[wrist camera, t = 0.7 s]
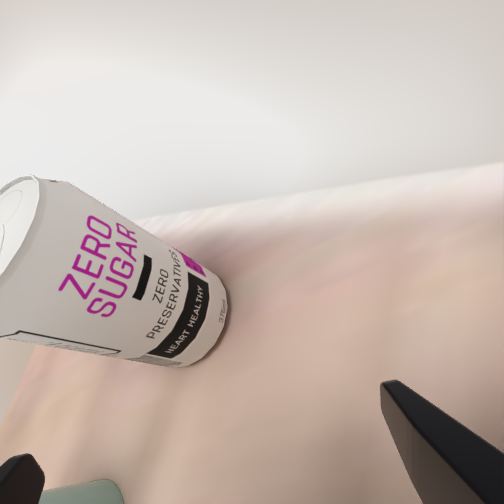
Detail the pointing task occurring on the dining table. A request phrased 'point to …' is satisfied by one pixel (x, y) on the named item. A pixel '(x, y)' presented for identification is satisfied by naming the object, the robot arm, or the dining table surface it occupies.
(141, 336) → the supplement can
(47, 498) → the teal bottle
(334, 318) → the dining table surface
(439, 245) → the dining table surface
